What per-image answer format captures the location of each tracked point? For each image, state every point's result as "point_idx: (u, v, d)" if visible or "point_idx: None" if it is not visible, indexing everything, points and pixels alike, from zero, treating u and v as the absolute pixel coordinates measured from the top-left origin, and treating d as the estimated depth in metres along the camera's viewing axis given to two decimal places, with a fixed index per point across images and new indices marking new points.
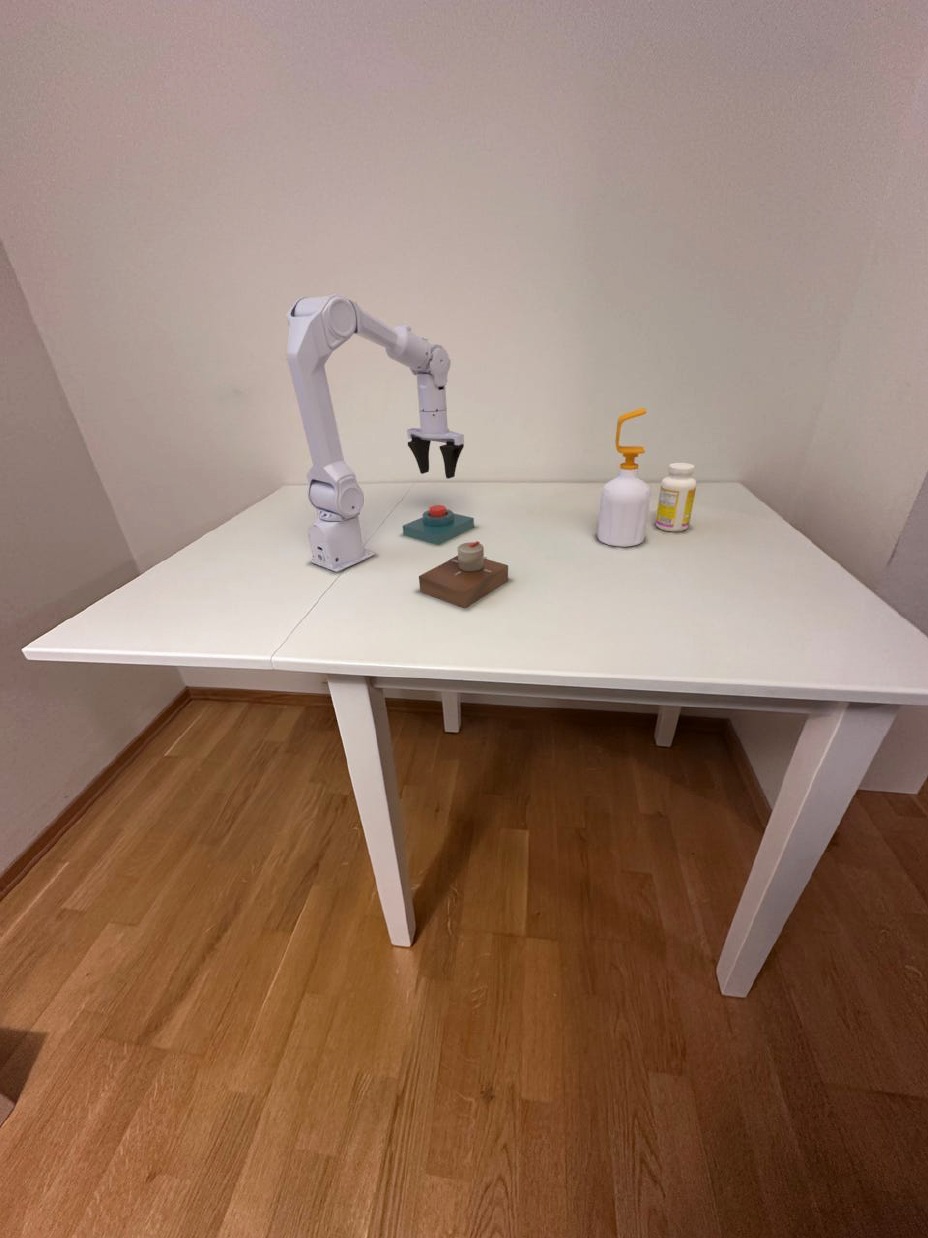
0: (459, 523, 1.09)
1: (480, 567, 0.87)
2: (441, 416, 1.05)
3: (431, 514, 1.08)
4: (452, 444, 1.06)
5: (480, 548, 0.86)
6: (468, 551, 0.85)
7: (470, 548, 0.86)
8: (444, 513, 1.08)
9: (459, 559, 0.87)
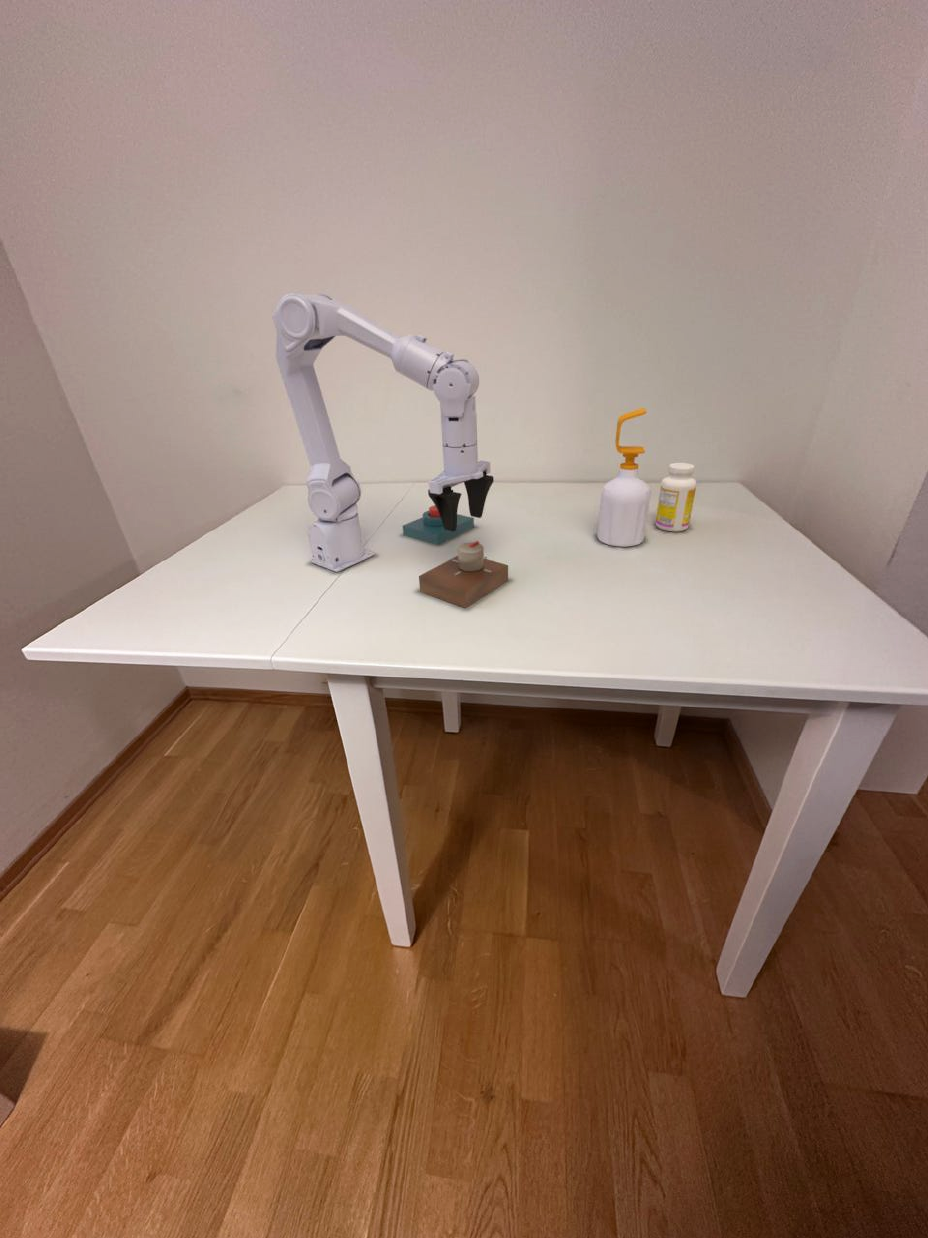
0: (459, 523, 1.09)
1: (480, 567, 0.87)
2: (447, 453, 0.82)
3: (431, 514, 1.08)
4: None
5: (480, 548, 0.86)
6: (468, 551, 0.85)
7: (470, 548, 0.86)
8: None
9: (459, 559, 0.87)
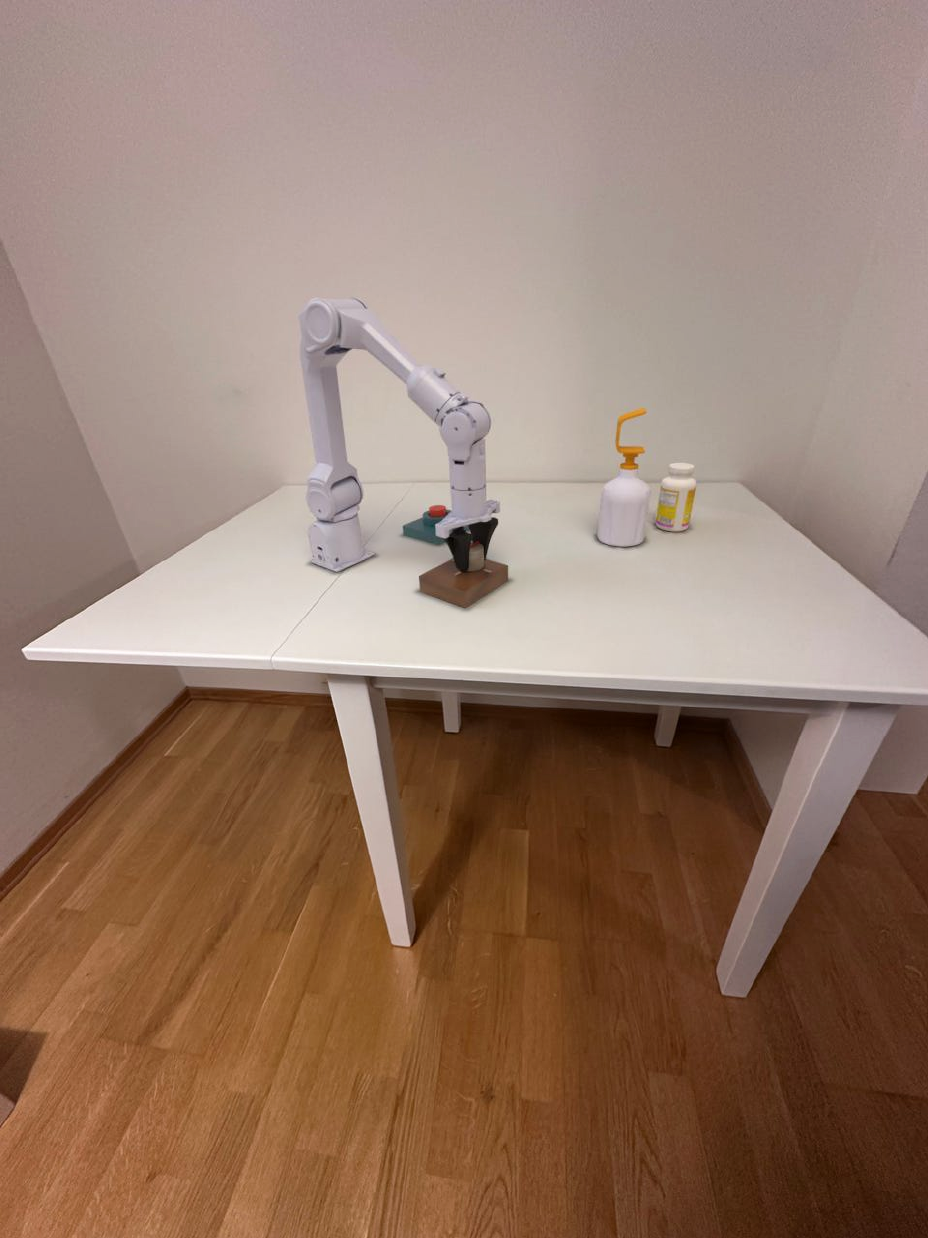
0: None
1: (480, 567, 0.87)
2: (455, 496, 0.80)
3: (431, 514, 1.08)
4: None
5: (480, 548, 0.86)
6: None
7: (470, 548, 0.86)
8: (444, 513, 1.08)
9: None
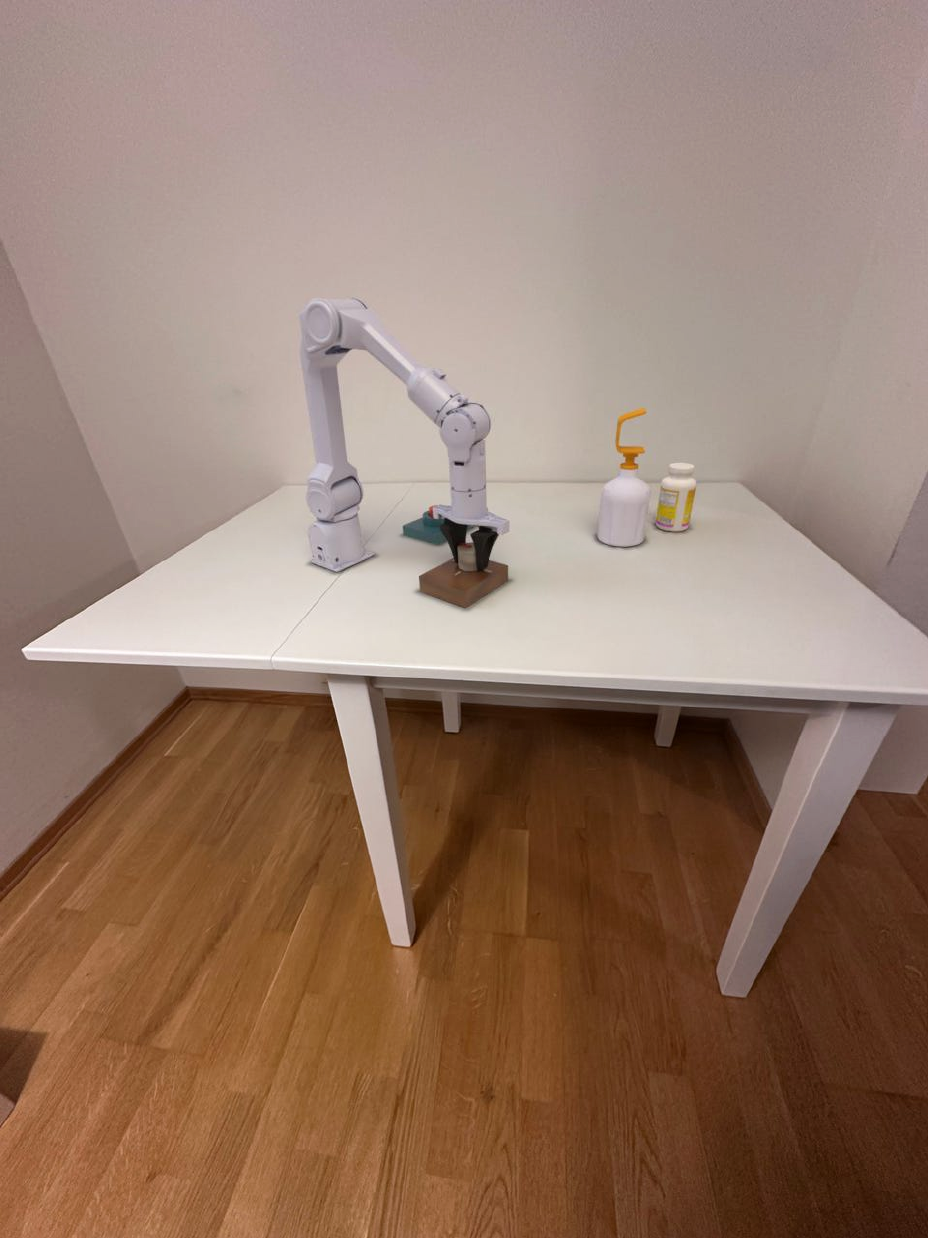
0: None
1: None
2: (480, 496, 0.80)
3: (431, 514, 1.08)
4: (487, 531, 0.81)
5: None
6: None
7: (473, 547, 0.86)
8: None
9: (475, 562, 0.86)
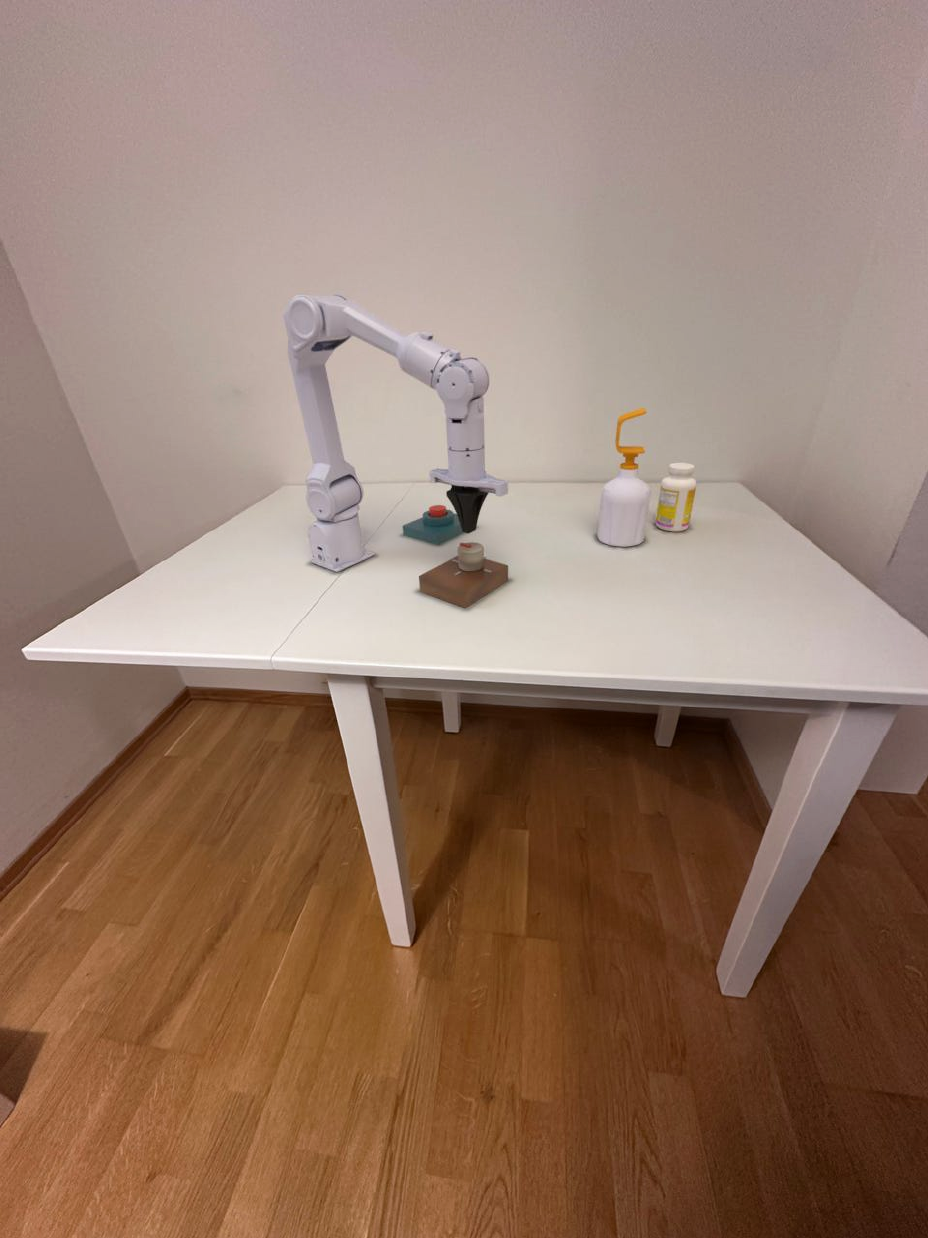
0: (459, 523, 1.09)
1: None
2: (478, 456, 0.77)
3: (431, 514, 1.08)
4: (474, 491, 0.80)
5: (474, 543, 0.88)
6: (480, 547, 0.86)
7: (473, 547, 0.86)
8: (444, 513, 1.08)
9: (475, 562, 0.86)
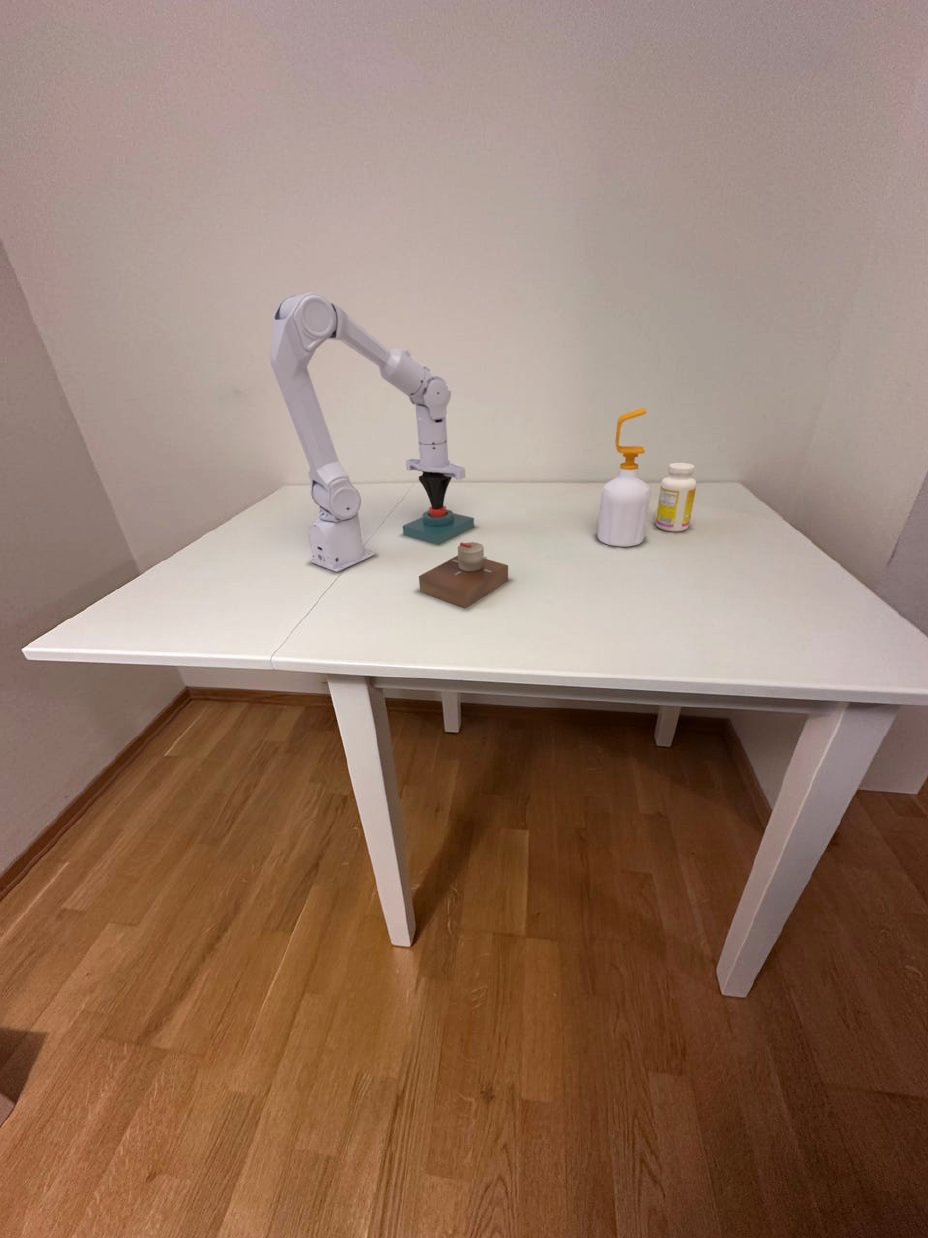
0: (459, 523, 1.09)
1: None
2: (441, 449, 1.00)
3: (431, 514, 1.08)
4: (440, 475, 1.03)
5: (474, 543, 0.88)
6: (480, 547, 0.86)
7: (473, 547, 0.86)
8: (444, 513, 1.08)
9: (475, 562, 0.86)
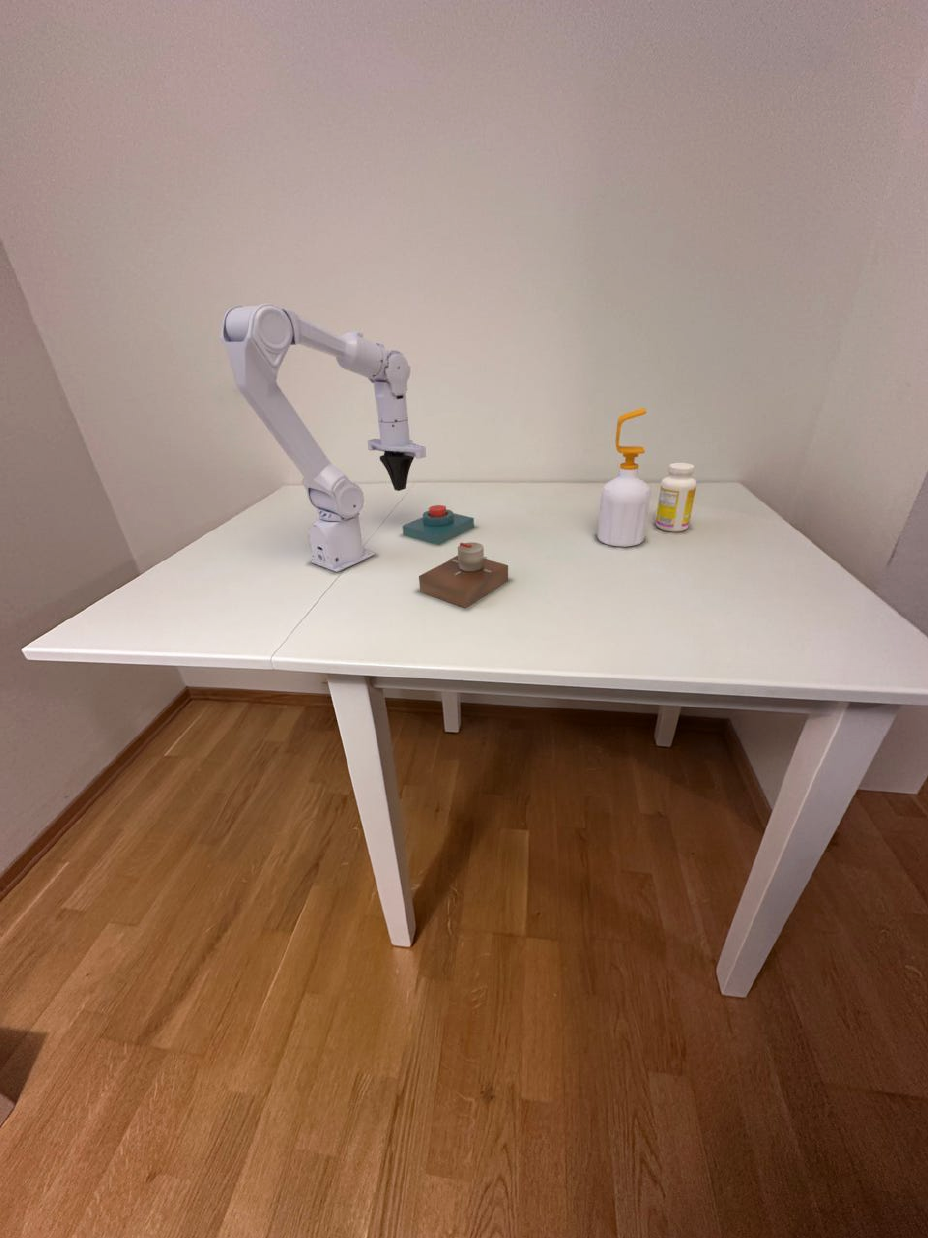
0: (459, 523, 1.09)
1: None
2: (401, 427, 0.97)
3: (431, 514, 1.08)
4: (400, 455, 1.00)
5: (474, 543, 0.88)
6: (480, 547, 0.86)
7: (473, 547, 0.86)
8: (444, 513, 1.08)
9: (475, 562, 0.86)
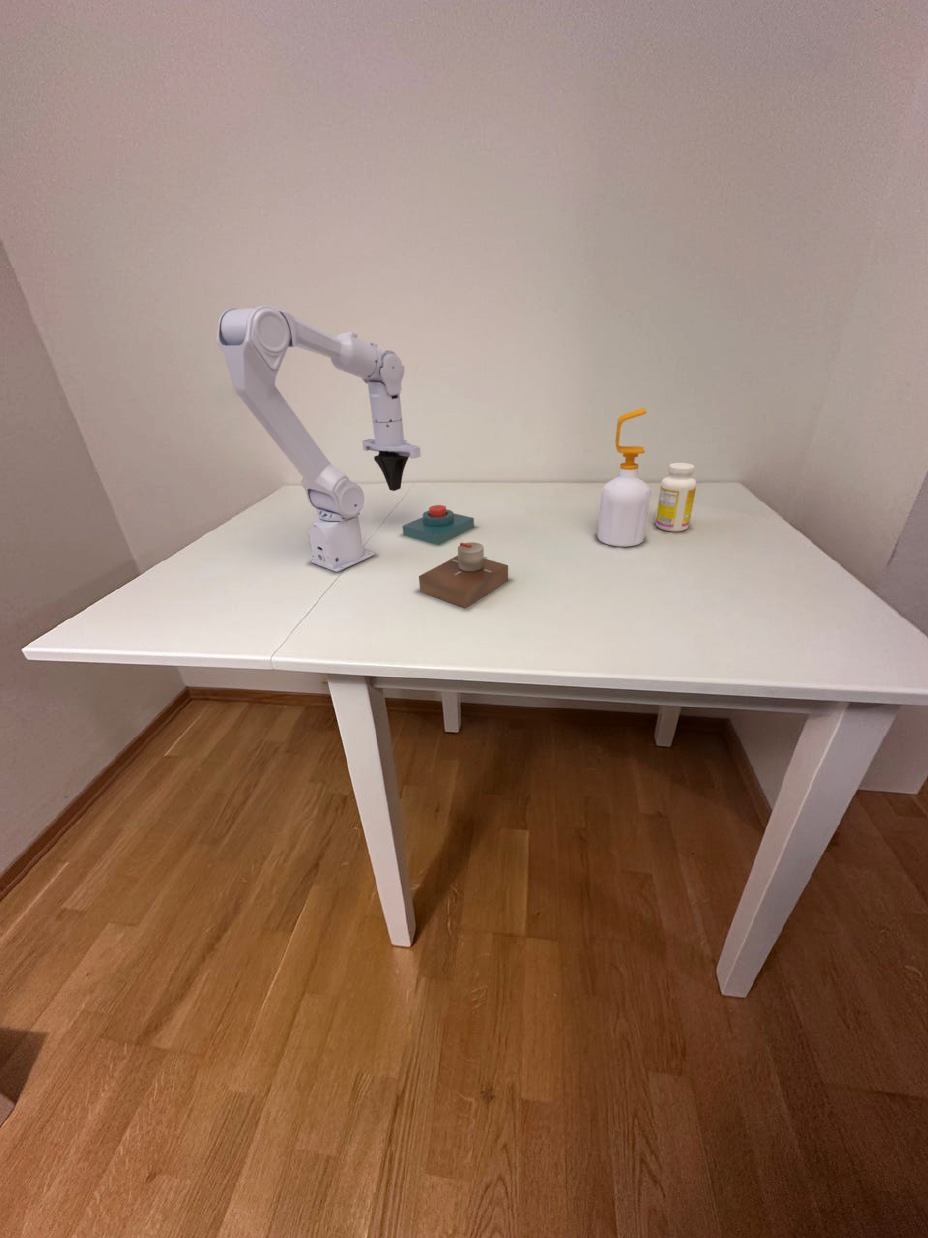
0: (459, 523, 1.09)
1: None
2: (395, 427, 0.97)
3: (431, 514, 1.08)
4: (395, 455, 1.00)
5: (474, 543, 0.88)
6: (480, 547, 0.86)
7: (473, 547, 0.86)
8: (444, 513, 1.08)
9: (475, 562, 0.86)
